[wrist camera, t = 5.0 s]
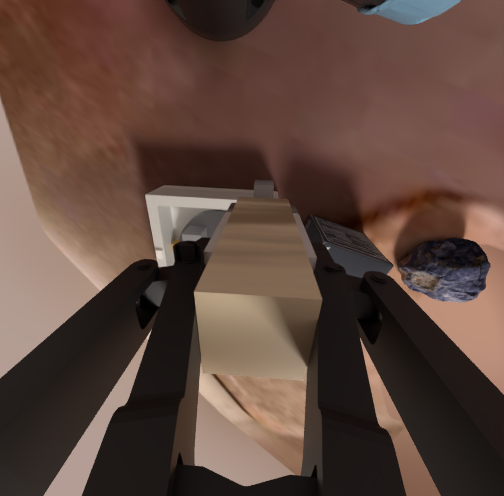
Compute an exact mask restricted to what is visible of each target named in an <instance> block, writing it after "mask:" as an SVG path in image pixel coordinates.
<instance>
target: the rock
mask: <svg viewBox="0 0 504 496" xmlns="http://www.w3.org/2000/svg"><path fill="white" fill-rule="evenodd" d="M439 244H441V248H440V249H439V250H436V249H434V250H431V249H432V248H434V247H435V246H437V247H440V246H439ZM449 255H452V256H451V258H448V259H447V260H442V259H444V258H445V257H447V256H449ZM398 268H399V271H400V273H401V277H402V278H401V279H402V281H403V283H404V284H405V285H407V286H408V288H410V289H411V290H413V291H415V292H418V293H419V292H420V293H423V294H425V295H427V296H429V297H430V298H433V299H435V300H438V301H450V302H458V303H462V302H466V301H470V300H473V299H475V298H476V297H477V296H478V294H479V293H480V292H481V291H483V290H484V289H485V287H486V282H485V280H486V275H487V273H488V271H489V268H490V263H489V262H488V259H487V256H486V254H485V252H484V251H483V250H482V249H481V247H480V246H479V245H478V244H477V243H476V242H474V241H470V240H467V239H461V238H449V239H446V240H444V241H426V242H424V243H423V244H421V245H419V246H418V247H417V248H416V249H414V250H413V251H412V252H410V254H409V255H408V256H407V257H406V258H404V259H402V260H401V261H400V262H399V264H398Z"/></svg>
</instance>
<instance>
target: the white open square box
mask: <svg viewBox="0 0 504 496" xmlns="http://www.w3.org/2000/svg"><path fill="white" fill-rule="evenodd" d="M145 197H146V203H147V208H148V213H149V219H150V224H151V230H152V235H153V241H154V246H155V251H156V257H157V262H158V266H159V267H165V266H172V265H174V262H175V259H174V253H173V249H172V244H173V242H174V241H175V240H179V238H180V235H181V232H182V230H183V229H184V227H185V226H186V225H187V224H188V222H189V221H190V220H191V219H192V218H193V217H195V216H196V215H198V214H200V213H202V212H205V211H209V210H222V211H227V210H228V208H229V206H230V204H231V203H236V202H237V200H238V198H239V197H254V190H243V189H225V188H207V187H189V186H172V185H163V186H161V187H159V188H157V189H155V190H153V191H151V192H149V193H147V194H145ZM273 198H279V196H278V191H274V194H273Z"/></svg>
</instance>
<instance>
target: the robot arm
mask: <svg viewBox="0 0 504 496" xmlns="http://www.w3.org/2000/svg"><path fill="white" fill-rule="evenodd" d="M165 1H166V3H167V4H168V5H169V7H170V8H171V9H172V11H173V12H174V13H175V15H176V16H177V17H178V18H179V19H180V21H181V22H182V23H183V24H184V25H185V26H186V27H188V28H189V29H190V30H191V31H193V32H194V33H196V34H197V35H199V36H201V37H204V38H206V39H210V40H214V41H229V40H234V39H237V38H239V37H242V36H244V35H245V34H247V33H249V32H250V31H251V30H253V29H254V28H255V27H256V26H257V25H258V24H259V23H260V22H261V21H262V20H263V18H264V17H265V16H266V14H267V13H268V11H269V10H270V8H271V7H272V5H273V3H274V1H275V0H165ZM342 1H344V2H347V3H349V4H351V5H353V6H355V7H357V10H358V12H360V13H362V14H365V15H371V14H377V15H379V16H382V17H385V18H387V19H390V20H393V21H395V22H398V23H401V24H407V25H412V24H419V23H421V22H423V21H426V20H428V19H430V18H431V17H435V16H438V15H440V14H442V13H443V12H445V11H447V10H448V9H450V8H451V7H453V6H454V5H456V4H457V3H459V2H460V1H461V0H342ZM231 213H232V212H225V214H224V216H223V218H222V219H221V221H220V223H219V225H218V227H217V228H216V230H215V232H214V234H213V236H212V237H211V238H207V237H202V238H200V239H198V240H197V241H189V240H188V241H181V242H178V243H176V244H174V246H173V253H174V259H175V262H174V265H172V266H165V267H159V266H158V262H157V261H155V260H151V259H143V260H139V261H137V262H134V263H133V264H131V265H130V266H129V267H128V268H126V269H125V270H124V271H123V272H122V273H121V274H120V275H118V276H117V277H116V278H115V279H114V280H113V281H112V282H110V283H109V284H108V285H107V286H106V287H105V288H104V289H102V290H101V291H100V292H99V293H98V294H97V295H96V296H94V297H93V298H92V299H91V300H90V301H89V302H87V303H86V304H85V305H84V306H83V307H82V308H81V309H79V310H78V311H77V312H76V313H75V314H74V315H73V316H71V317H70V318H69V319H68V320H67V321H66V322H65V323H63V324H62V325H61V326H60V327H59V328H58V329H57V330H55V331H54V332H53V333H52V334H51V335H50V336H49V337H47V338H46V339H45V340H44V341H43V342H42V343H41V344H39V345H38V346H37V347H36V348H35V349H34V350H33V351H31V352H30V353H29V354H28V355H27V356H26V357H24V358H23V359H22V360H21V361H20V362H19V363H18V364H16V365H15V366H14V367H13V368H12V369H11V370H9V371H8V372H7V373H6V374H5V375H4V376H3V377H1V378H0V496H43V495H44V494H45V492H46V491H47V489H48V488H49V486H50V484H51V483H52V481H53V480H54V478H55V477H56V475H57V474H58V472H59V471H60V469H61V468H62V466H63V465H64V463H65V461H66V460H67V458H68V457H69V455H70V454H71V452H72V450H73V449H74V448H75V446H76V444H77V443H78V441H79V440H80V438H81V437H82V435H83V434H84V432H85V431H86V429H87V428H88V426H89V425H90V423H91V422H92V420H93V418H94V417H95V415H96V414H97V412H98V411H99V409H100V408H101V406H102V405H103V403H104V402H105V400H106V398H107V397H108V395H109V394H110V392H111V391H112V389H113V388H114V386H115V384H116V383H117V381H118V380H119V378H120V377H121V375H122V374H123V372H124V371H125V369H126V368H127V366H128V365H129V363H130V362H131V360H132V358H133V357H134V356H135V354H136V352H137V351H138V349H139V348H140V346H141V345H142V343H143V342H144V340H145V339H146V337H147V336H148V334H149V332H150V331H151V329H152V331H151V334H150V337H149V340H148V343H147V346H146V349H145V352H144V355H143V358H142V361H141V364H140V367H139V370H138V373H137V376H136V379H135V382H134V385H133V388H132V391H131V394H130V397H129V399H128V401H127V403H126V404H125V405H124V406H121V407H119V408H118V409H117V410H116V411H115V413H114V414H113V416H112V418H111V420H110V422H109V425H108V427H107V430H106V433H105V435H104V438H103V441H102V443H101V446H100V449H99V451H98V454H97V457H96V459H95V463H94V465H93V468H92V470H91V473H90V475H89V478H88V481H87V483H86V486H85V489H84V491H83V494H82V496H406V493H405V489H404V485H403V481H402V477H401V473H400V468H399V464H398V460H397V456H396V452H395V448H394V445H393V442H392V439H391V437H390V435H389V433H388V431H387V430H386V429H384V428H382V427H380V425H379V424H378V421H377V417H376V413H375V408H374V403H373V398H372V393H371V389H370V384H369V379H368V374H367V370H366V365H365V360H364V355H363V350H362V346H361V341H360V338H361V340H362V342H363V344H364V346H365V348H366V350H367V352H368V354H369V356H370V358H371V360H372V362H373V364H374V366H375V367H376V369H377V371H378V373H379V375H380V377H381V379H382V381H383V383H384V385H385V387H386V389H387V391H388V393H389V395H390V396H391V399H392V401H393V403H394V404H395V406H396V409H397V410H398V413H399V414H400V416H401V418H402V420H403V422H404V424H405V426H406V428H407V430H408V432H409V434H410V436H411V438H412V440H413V442H414V444H415V446H416V447H417V450H418V452H419V454H420V455H421V457H422V459H423V461H424V463H425V465H426V467H427V469H428V471H429V473H430V475H431V477H432V479H433V481H434V483H435V485H436V487H437V489H438V491H439V493H440V495H441V496H504V395H503V394H502V393H501V392H500V390H499V389H498V388H497V387H496V386H495V385H494V384H493V383H492V382H491V381H490V380H489V379H488V378H487V377H486V376H485V375H484V374H483V373H482V372H481V371H480V369H478V367H477V366H476V365H475V364H474V363H473V362H472V361H471V360H470V359H469V358H468V357H467V356H466V355H465V354H464V353H463V352H462V351H461V350H460V349H459V347H457V346H456V344H455V343H454V342H453V341H452V340H451V339H450V338H449V337H448V336H447V335H446V334H445V333H444V332H443V331H442V330H441V329H440V328H439V327H438V325H437V324H435V322H434V321H433V320H432V319H431V318H430V317H429V316H428V315H427V314H426V313H425V312H424V311H423V310H422V309H421V308H420V307H419V306H418V305H417V303H416V302H415V301H414V300H413V299H412V298H411V297H410V296H409V295H408V294H407V293H406V292H405V291H404V290H403V289H402V288H401V287H400V286H399V285H398V284H397V283H396V281H395V280H394V279H392V278H391V277H390V276H388V275H386V274H384V273H382V272H378V271H367V272H365V273H364V275H363V278H359V277H355V276H351V275H348V274H346V270H345V268H344V267H342V266H341V265H339V264H337V263H335V262H334V260H333V259H332V257H331V255H330V253H329V251H328V249H327V247H326V246H325V245H323V244H322V243H316V242H310V240H309V237H308V235H307V233H306V230H305V228H304V225H303V223H302V221H301V218H300V216H299V215H294V218H295V221H296V224H297V227H298V230H299V232H300V235H301V238H302V241H303V244H304V247H305V250H306V253H307V256H308V259H309V262H310V265H311V267H312V270H313V273H314V276H315V279H316V282H317V285H318V288H319V291H320V294H321V297H322V304H321V309H320V313H319V318H318V321H317V325H316V330H315V334H314V339H313V344H312V348H311V353H310V358H309V362H308V367H307V386H306V406H305V427H304V448H303V462H302V471H301V476H297V475H288V476H284V477H280V478H277V479H273V480H270V481H266V482H262V483H259V484H255V485H251V486H242V485H239V484H237V483H235V482H233V481H231V480H229V479H227V478H225V477H223V476H221V475H219V474H217V473H215V472H213V471H211V470H209V469H207V468H205V467H202V466H195V464H194V447H195V432H196V418H197V404H198V390H199V376H200V362H201V351H200V342H199V333H198V324H197V315H196V306H195V297H194V290H195V288H196V286H197V284H198V282H199V280H200V278H201V276H202V274H203V271H204V269H205V267H206V265H207V263H208V261H209V259H210V257H211V255H212V252H213V250H214V248H215V246H216V244H217V242H218V240H219V238H220V236H221V234H222V231H223V229H224V227H225V225H226V223H227V221H228V219H229V217H230V215H231ZM136 302H137V303H136Z"/></svg>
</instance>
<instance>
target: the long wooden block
mask: <svg viewBox="0 0 504 496" xmlns="http://www.w3.org/2000/svg"><path fill="white" fill-rule="evenodd" d="M273 194H274V182H273V180H255V183H254V197H239V198H238V200H237V202H236V203H231V204H230V206H229V208H228V210H227V212H232V213H231V215H230V217H229V219H228V221H227V223H226V225H225V227H224V229H223V231H222V234H221V236H220V238H219V240H218V242H217V244H216V246H215V248H214V250H213V252H212V255H211V257H210V259H209V261H208V263H207V265H206V267H205V269H204V271H203V274H202V276H201V278H200V280H199V282H198V284H197V286H196V288H195V290H194V297H195V306H196V315H197V324H198V333H199V342H200V351H201V360H202V369H203V373H210V374H223V375H236V376H249V377H262V378H274V379H287V380H300V381H305V378H306V373H307V367H308V362H309V358H310V353H311V348H312V344H313V339H314V334H315V330H316V325H317V321H318V318H319V313H320V309H321V304H322V297H321V294H320V291H319V288H318V285H317V282H316V279H315V276H314V273H313V270H312V267H311V265H310V262H309V259H308V256H307V253H306V250H305V247H304V244H303V241H302V238H301V235H300V232H299V230H298V227H297V224H296V221H295V218H294V215H298V214H299V213H298V211H297V209H296V206H295V205H290V203H289V200H288V199H280V198H273Z"/></svg>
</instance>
